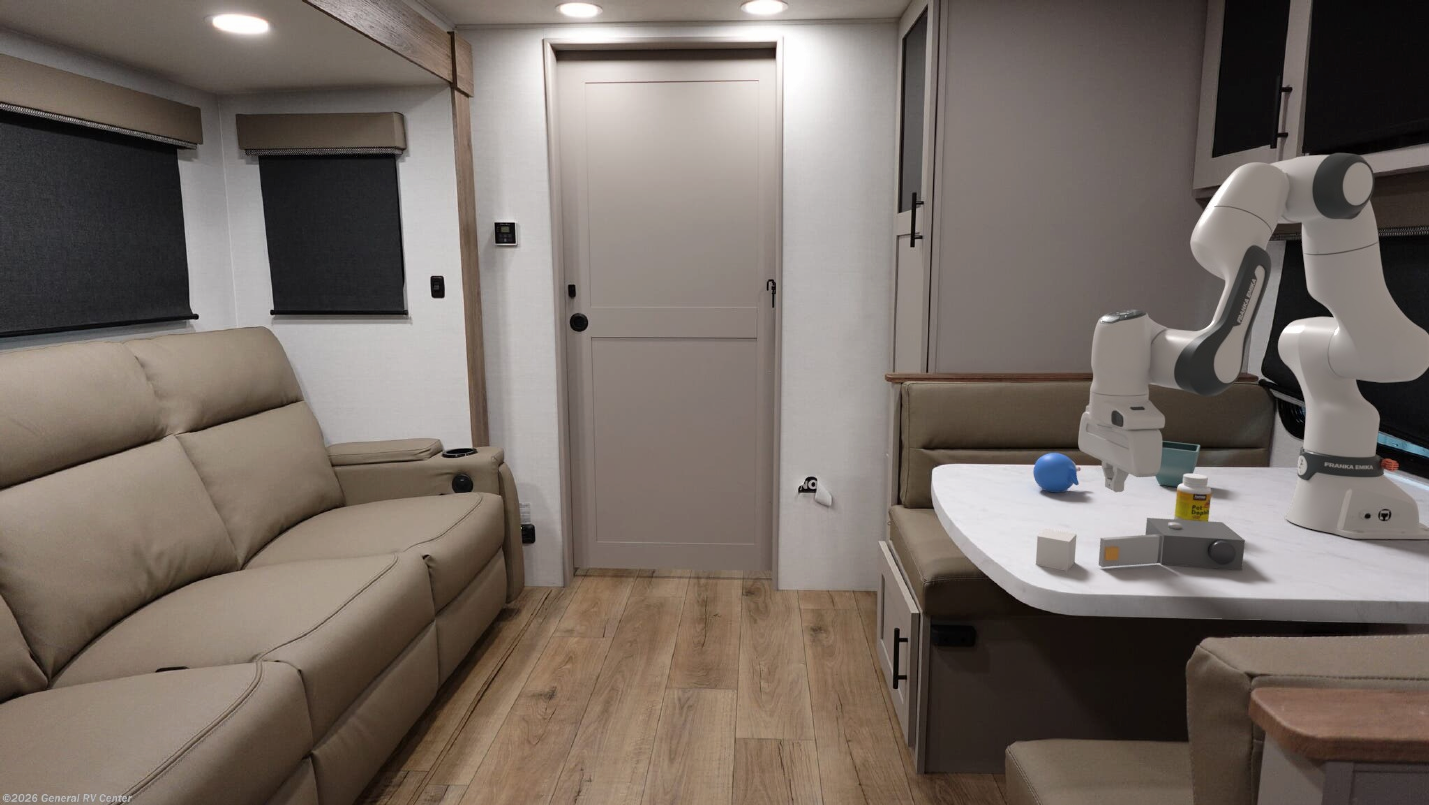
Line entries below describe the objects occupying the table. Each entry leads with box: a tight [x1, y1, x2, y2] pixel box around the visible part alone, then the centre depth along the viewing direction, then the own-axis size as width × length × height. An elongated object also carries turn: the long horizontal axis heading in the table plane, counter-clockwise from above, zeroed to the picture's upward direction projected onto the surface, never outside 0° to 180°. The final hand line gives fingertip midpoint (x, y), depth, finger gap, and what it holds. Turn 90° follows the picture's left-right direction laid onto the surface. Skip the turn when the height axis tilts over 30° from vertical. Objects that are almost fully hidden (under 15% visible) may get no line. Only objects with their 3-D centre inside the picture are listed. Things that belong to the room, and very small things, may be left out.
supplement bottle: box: [1173, 473, 1212, 521], centre depth 160 cm, size 6×6×10 cm
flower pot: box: [1154, 440, 1201, 488], centre depth 193 cm, size 9×9×9 cm
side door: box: [1098, 534, 1162, 568], centre depth 140 cm, size 2×11×5 cm, turn 101°
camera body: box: [1145, 517, 1246, 571], centre depth 144 cm, size 12×12×6 cm
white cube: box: [1035, 528, 1078, 571], centre depth 142 cm, size 5×5×5 cm
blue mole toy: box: [1032, 452, 1082, 493], centre depth 187 cm, size 12×12×8 cm
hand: (1114, 489), depth 145 cm, fingers closed
